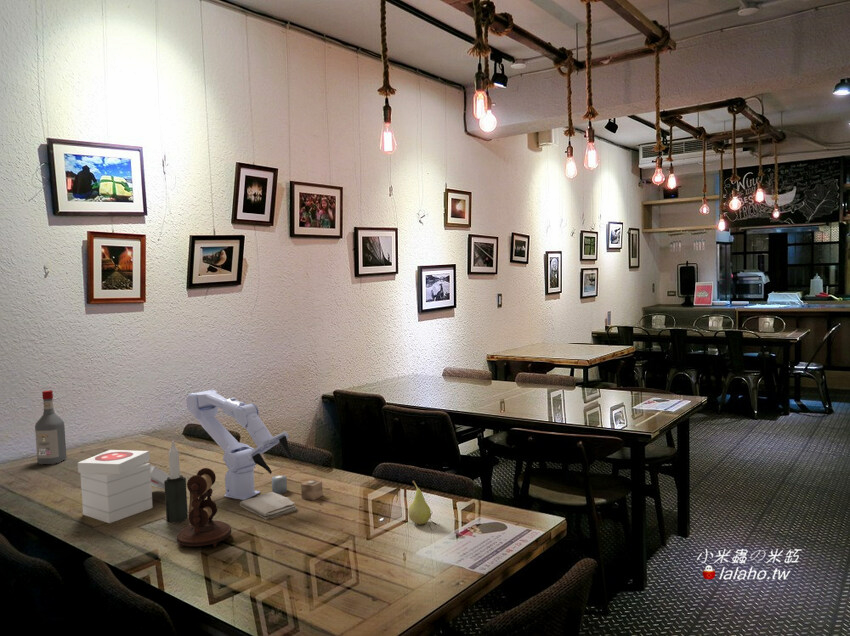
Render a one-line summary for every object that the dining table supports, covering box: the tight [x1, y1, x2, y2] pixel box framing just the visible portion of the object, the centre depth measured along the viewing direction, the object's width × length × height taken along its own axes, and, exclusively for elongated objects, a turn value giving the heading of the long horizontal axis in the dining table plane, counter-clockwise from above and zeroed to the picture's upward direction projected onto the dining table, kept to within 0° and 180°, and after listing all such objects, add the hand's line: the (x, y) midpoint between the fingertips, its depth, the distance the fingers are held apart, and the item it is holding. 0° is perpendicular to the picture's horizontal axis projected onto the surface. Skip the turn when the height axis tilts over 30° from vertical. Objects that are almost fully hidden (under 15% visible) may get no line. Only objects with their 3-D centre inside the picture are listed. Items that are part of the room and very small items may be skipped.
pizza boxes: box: [77, 449, 170, 524], centre depth 209 cm, size 19×30×18 cm, turn 147°
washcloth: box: [239, 491, 297, 520], centre depth 204 cm, size 12×18×3 cm, turn 45°
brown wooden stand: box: [176, 467, 232, 548], centre depth 179 cm, size 15×15×20 cm
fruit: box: [407, 480, 432, 525], centre depth 187 cm, size 7×8×12 cm
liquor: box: [34, 389, 68, 465], centre depth 263 cm, size 9×9×30 cm
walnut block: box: [300, 479, 323, 501], centre depth 213 cm, size 5×5×5 cm
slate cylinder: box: [271, 474, 288, 495], centre depth 219 cm, size 5×5×5 cm
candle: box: [164, 440, 189, 524], centre depth 195 cm, size 5×5×25 cm
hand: (281, 465), depth 203 cm, fingers open, 7 cm apart
